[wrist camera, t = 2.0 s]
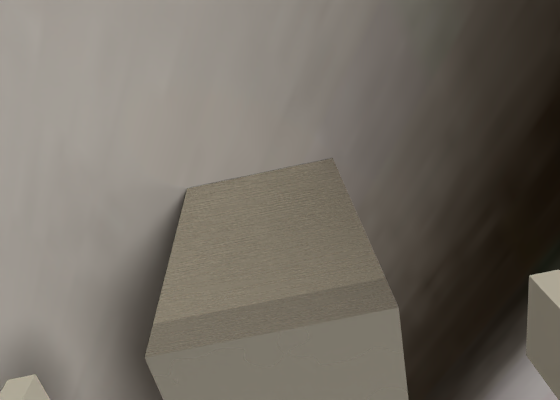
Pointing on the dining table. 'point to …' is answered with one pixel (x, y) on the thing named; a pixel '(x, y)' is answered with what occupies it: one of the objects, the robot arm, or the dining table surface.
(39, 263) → the dining table surface
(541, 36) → the dining table surface
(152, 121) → the dining table surface
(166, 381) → the white rectangular block
